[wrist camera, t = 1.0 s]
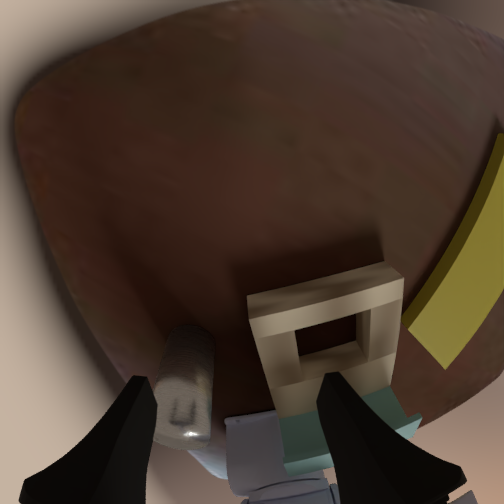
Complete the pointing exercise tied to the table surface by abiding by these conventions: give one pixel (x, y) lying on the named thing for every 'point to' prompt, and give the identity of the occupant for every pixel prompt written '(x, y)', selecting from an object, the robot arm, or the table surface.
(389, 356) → the socket block
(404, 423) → the teal block
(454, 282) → the flat olive board
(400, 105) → the table surface
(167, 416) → the peg
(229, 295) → the table surface
